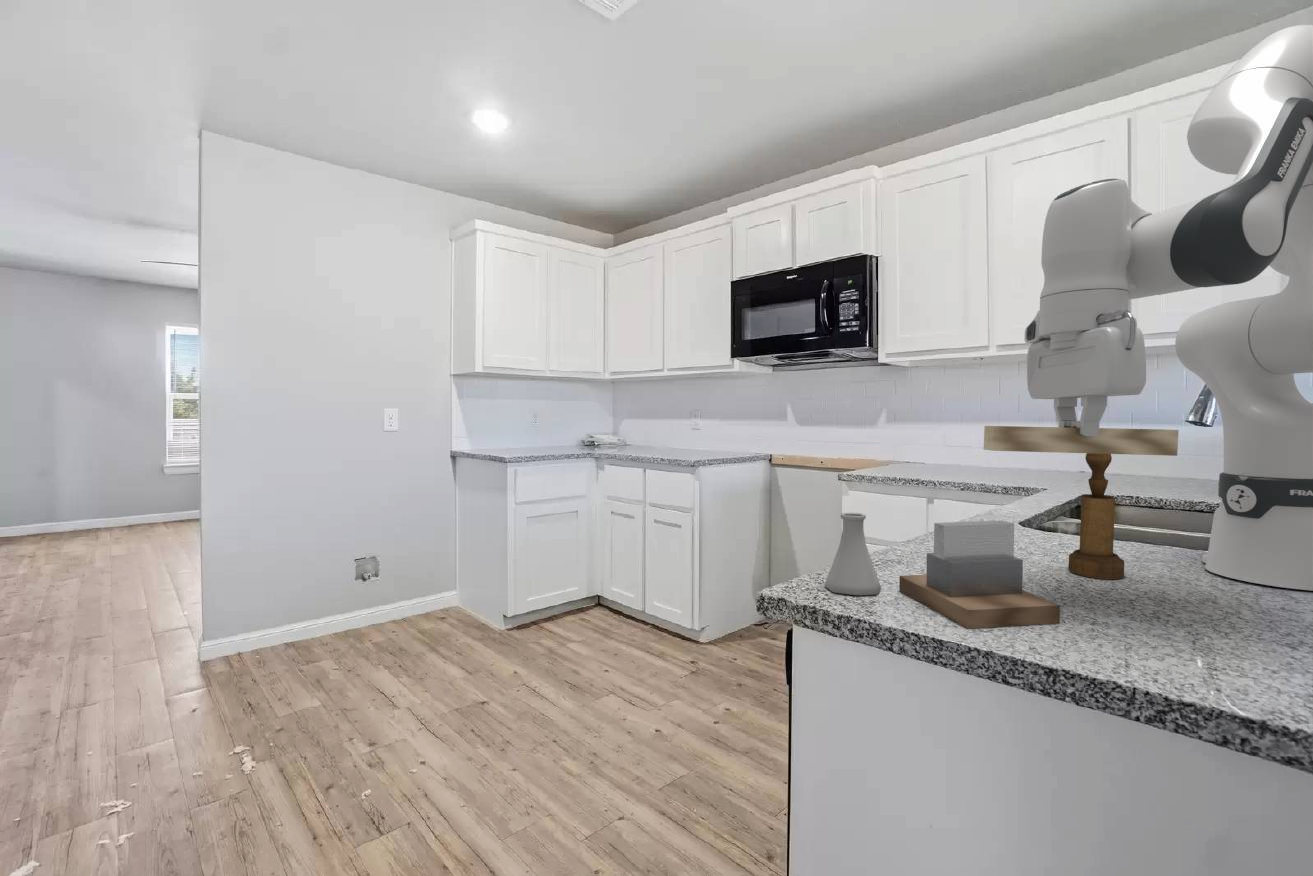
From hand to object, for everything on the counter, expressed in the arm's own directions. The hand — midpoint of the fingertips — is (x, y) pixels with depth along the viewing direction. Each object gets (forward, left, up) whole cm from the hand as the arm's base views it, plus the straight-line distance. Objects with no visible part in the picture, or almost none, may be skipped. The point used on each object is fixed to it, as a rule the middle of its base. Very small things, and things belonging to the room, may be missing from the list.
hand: (1077, 435), depth 74 cm
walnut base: (+13, 0, -20) cm, 24 cm away
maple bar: (0, 0, -2) cm, 2 cm away
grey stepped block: (+13, 0, -18) cm, 23 cm away
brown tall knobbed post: (-13, -11, -21) cm, 27 cm away
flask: (+24, -9, -21) cm, 33 cm away
